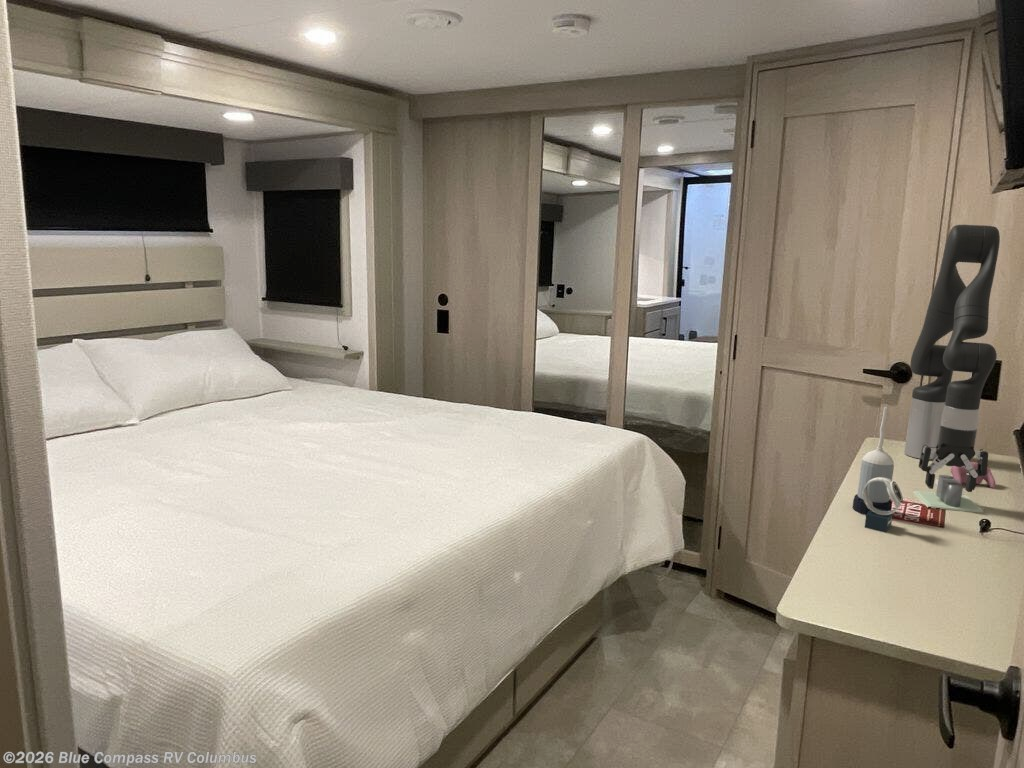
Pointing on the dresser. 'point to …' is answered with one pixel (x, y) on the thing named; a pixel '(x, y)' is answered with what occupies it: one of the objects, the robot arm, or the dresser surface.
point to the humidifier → (875, 476)
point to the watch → (879, 517)
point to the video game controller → (961, 475)
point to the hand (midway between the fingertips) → (949, 489)
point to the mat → (935, 502)
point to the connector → (949, 490)
